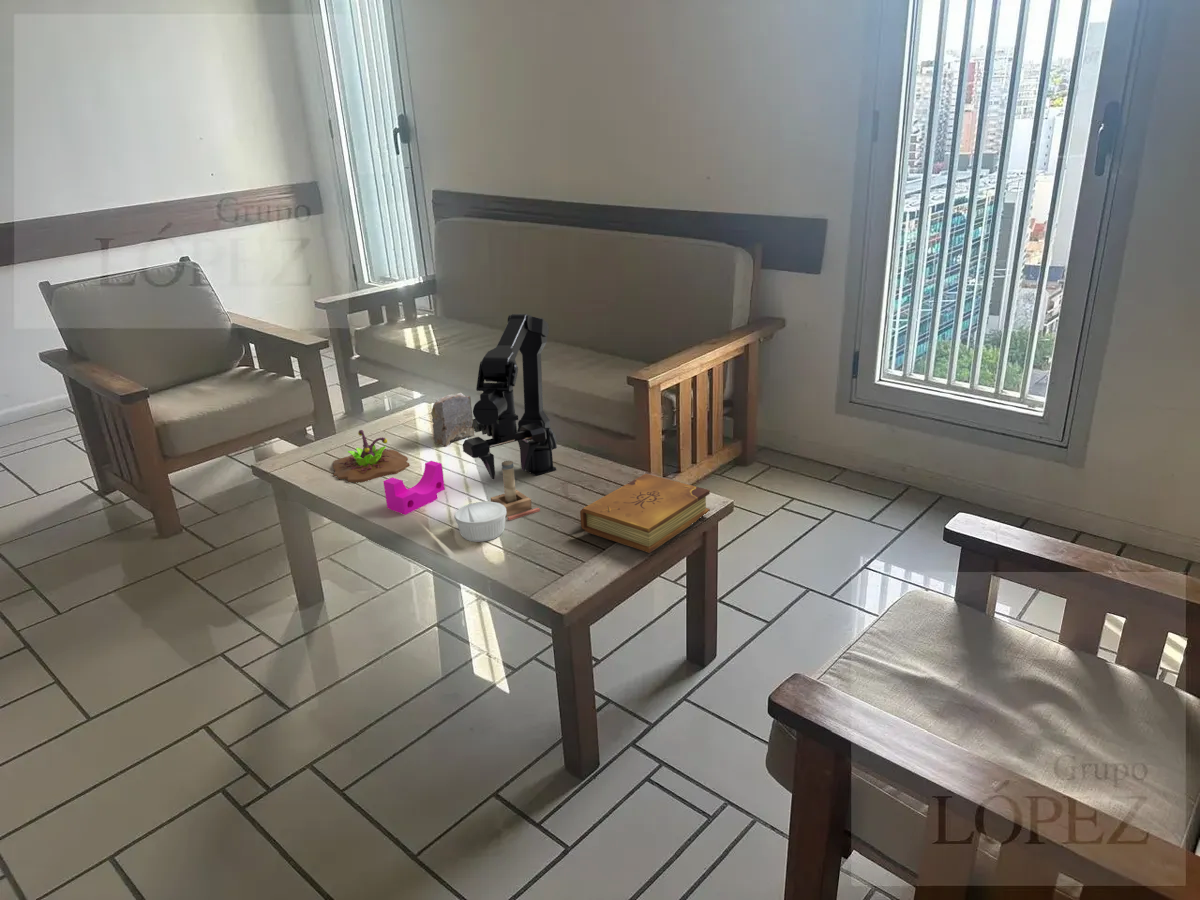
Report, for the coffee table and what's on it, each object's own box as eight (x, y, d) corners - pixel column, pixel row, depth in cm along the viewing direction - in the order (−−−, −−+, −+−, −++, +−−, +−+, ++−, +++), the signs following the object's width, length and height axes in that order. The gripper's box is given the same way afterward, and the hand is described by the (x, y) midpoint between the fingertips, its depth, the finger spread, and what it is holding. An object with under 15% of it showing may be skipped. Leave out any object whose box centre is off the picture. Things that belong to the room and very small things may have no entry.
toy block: (405, 515, 198) (400, 486, 195) (387, 510, 201) (383, 481, 198) (452, 493, 209) (448, 465, 206) (434, 488, 212) (431, 460, 209)
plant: (394, 452, 239) (389, 414, 235) (418, 473, 223) (413, 433, 219) (323, 468, 229) (316, 429, 225) (343, 492, 213) (335, 450, 209)
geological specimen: (463, 436, 247) (458, 387, 242) (477, 440, 243) (471, 390, 238) (434, 447, 240) (427, 396, 234) (447, 451, 236) (441, 400, 230)
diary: (643, 494, 203) (643, 472, 201) (709, 513, 191) (709, 490, 189) (581, 530, 187) (579, 506, 184) (649, 553, 175) (648, 527, 173)
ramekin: (446, 535, 187) (443, 513, 185) (485, 517, 194) (482, 496, 192) (479, 549, 179) (477, 527, 178) (518, 530, 187) (516, 509, 185)
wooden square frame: (521, 498, 203) (520, 488, 202) (540, 511, 196) (539, 501, 195) (491, 507, 199) (490, 497, 198) (509, 520, 192) (508, 510, 191)
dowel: (514, 504, 200) (509, 459, 196) (519, 508, 198) (515, 463, 194) (504, 507, 198) (499, 462, 194) (509, 511, 196) (504, 465, 192)
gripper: (521, 394, 201) (527, 455, 206) (449, 410, 191) (456, 474, 197) (545, 405, 192) (550, 468, 197) (470, 423, 182) (477, 489, 188)
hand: (508, 474), depth 195 cm, fingers open, 8 cm apart
